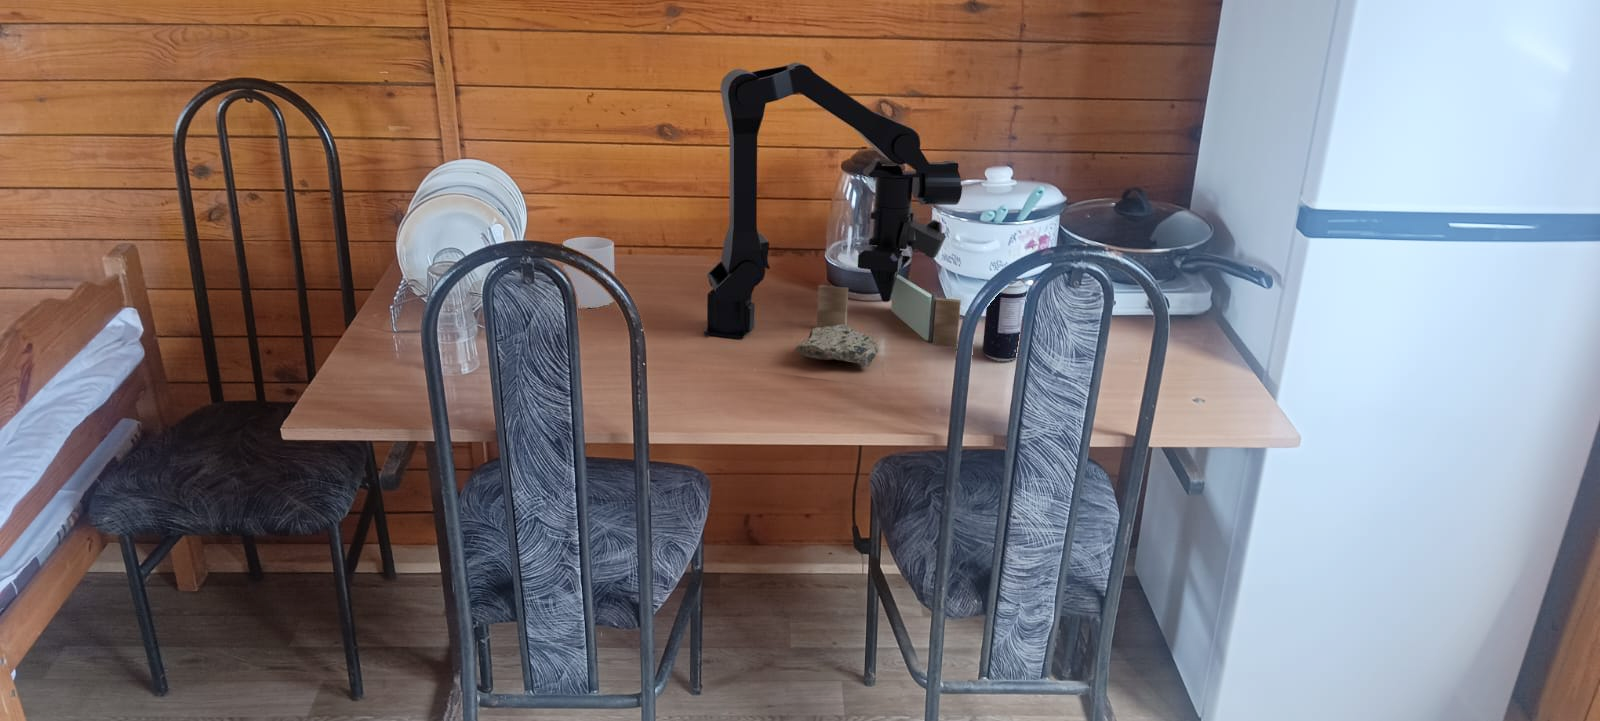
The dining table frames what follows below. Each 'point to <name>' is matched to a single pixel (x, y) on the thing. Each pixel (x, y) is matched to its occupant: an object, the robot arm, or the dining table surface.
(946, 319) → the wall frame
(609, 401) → the dining table surface
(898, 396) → the dining table surface
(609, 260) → the mug
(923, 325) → the door
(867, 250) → the robot arm
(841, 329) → the rock
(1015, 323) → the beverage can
